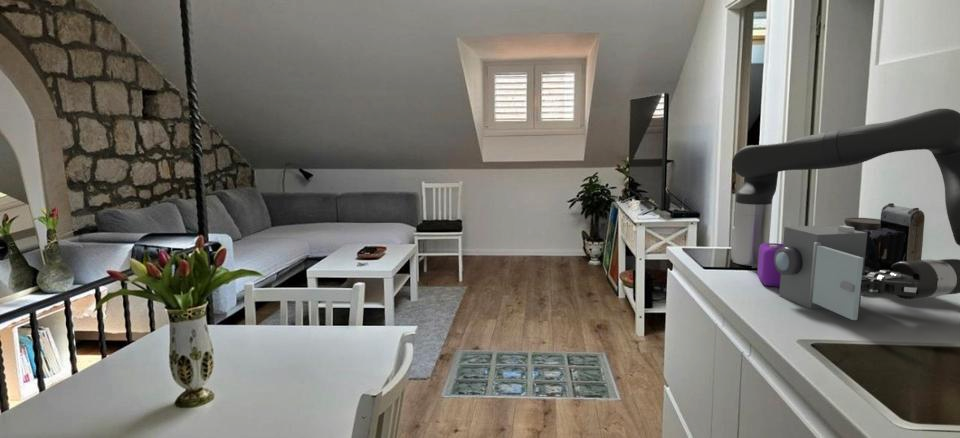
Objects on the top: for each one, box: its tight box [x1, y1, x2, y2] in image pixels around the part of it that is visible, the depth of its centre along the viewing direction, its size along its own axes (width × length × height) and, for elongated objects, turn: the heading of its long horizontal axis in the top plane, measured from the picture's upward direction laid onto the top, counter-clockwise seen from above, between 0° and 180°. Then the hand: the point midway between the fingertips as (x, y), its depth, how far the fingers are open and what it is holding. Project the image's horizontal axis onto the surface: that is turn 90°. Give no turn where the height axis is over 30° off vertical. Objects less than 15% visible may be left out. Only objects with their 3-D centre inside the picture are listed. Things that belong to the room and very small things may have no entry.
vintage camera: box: [861, 202, 925, 274], centre depth 139 cm, size 10×15×20 cm, turn 95°
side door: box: [809, 242, 864, 321], centre depth 116 cm, size 2×13×13 cm, turn 5°
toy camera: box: [757, 242, 783, 288], centre depth 145 cm, size 11×14×10 cm
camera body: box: [774, 224, 867, 310], centre depth 129 cm, size 10×15×17 cm
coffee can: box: [844, 217, 881, 231], centre depth 154 cm, size 10×10×14 cm
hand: (848, 285), depth 113 cm, fingers closed
